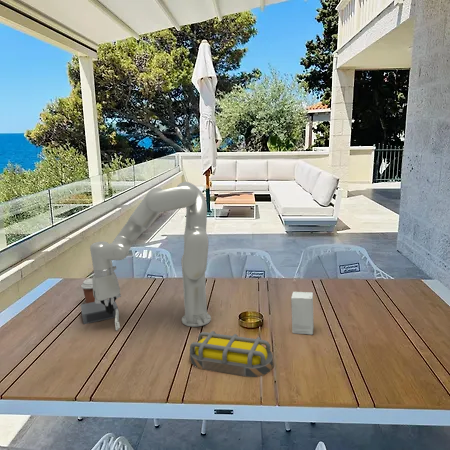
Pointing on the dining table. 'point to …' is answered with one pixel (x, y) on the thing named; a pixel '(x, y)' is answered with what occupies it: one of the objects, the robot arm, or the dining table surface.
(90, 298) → the coffee cup
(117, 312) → the light grey flat bar
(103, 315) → the gray button box
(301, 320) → the skincare box
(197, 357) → the cage light
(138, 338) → the dining table surface
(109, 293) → the robot arm
